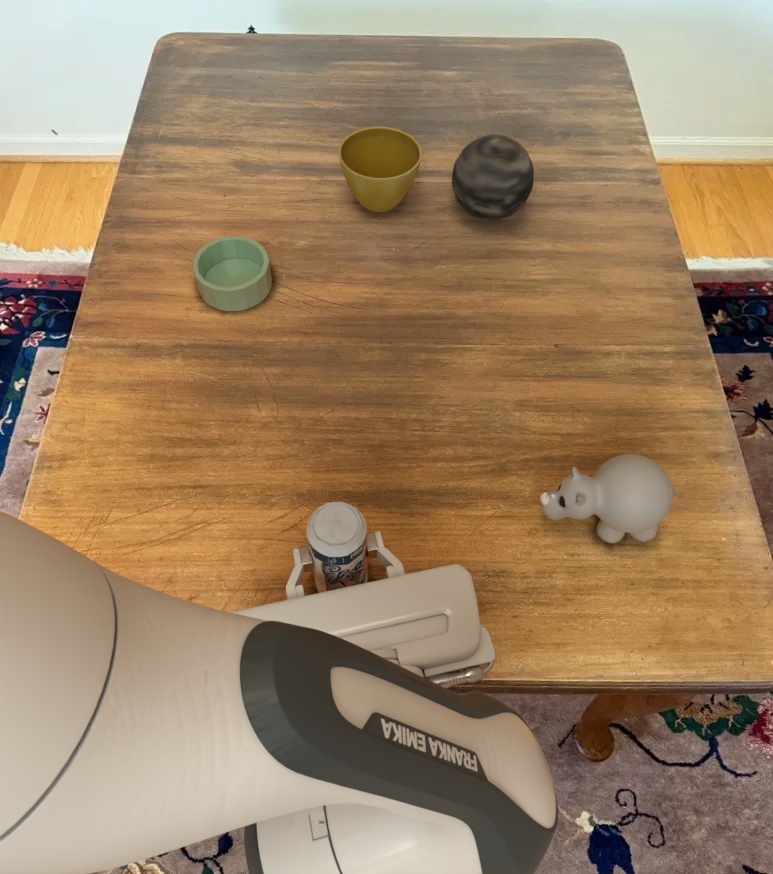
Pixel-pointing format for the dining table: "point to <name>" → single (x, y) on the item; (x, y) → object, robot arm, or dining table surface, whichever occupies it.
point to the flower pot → (379, 166)
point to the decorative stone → (492, 177)
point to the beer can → (338, 546)
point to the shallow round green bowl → (232, 273)
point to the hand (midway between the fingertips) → (336, 542)
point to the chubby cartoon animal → (615, 497)
